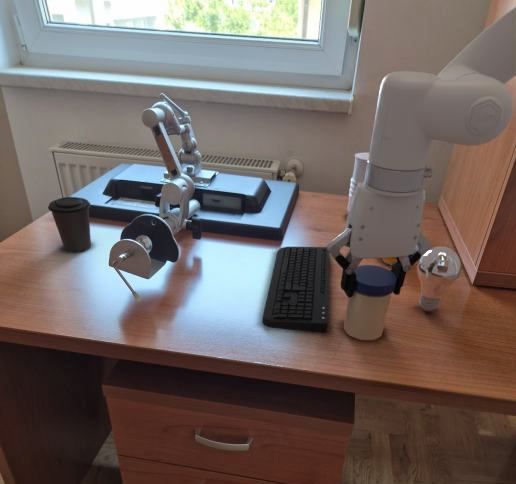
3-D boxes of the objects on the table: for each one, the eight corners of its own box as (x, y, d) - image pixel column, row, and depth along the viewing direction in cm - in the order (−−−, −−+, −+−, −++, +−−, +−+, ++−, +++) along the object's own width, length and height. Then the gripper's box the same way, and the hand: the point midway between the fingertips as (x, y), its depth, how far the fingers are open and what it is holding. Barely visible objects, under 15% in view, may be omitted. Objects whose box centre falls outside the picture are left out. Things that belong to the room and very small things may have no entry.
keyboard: (277, 250, 103) (278, 241, 101) (328, 255, 102) (329, 246, 100) (260, 326, 79) (261, 315, 78) (326, 332, 78) (328, 322, 77)
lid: (384, 273, 78) (386, 263, 76) (402, 295, 72) (404, 285, 71) (343, 275, 76) (344, 265, 75) (357, 297, 71) (359, 287, 70)
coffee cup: (49, 246, 100) (38, 199, 94) (83, 235, 105) (74, 190, 99) (71, 258, 96) (60, 210, 90) (105, 246, 101) (97, 200, 95)
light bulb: (414, 296, 89) (430, 235, 81) (451, 308, 85) (471, 246, 78) (400, 312, 84) (416, 249, 77) (439, 325, 81) (459, 261, 74)
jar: (390, 330, 79) (402, 280, 73) (366, 345, 75) (377, 293, 70) (359, 314, 83) (369, 265, 77) (335, 327, 79) (343, 277, 74)
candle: (375, 216, 121) (386, 154, 112) (370, 225, 116) (381, 161, 107) (348, 211, 123) (357, 151, 114) (342, 220, 118) (351, 158, 109)
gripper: (439, 168, 69) (411, 277, 79) (324, 169, 66) (310, 283, 76) (466, 184, 63) (432, 301, 73) (340, 187, 60) (323, 307, 71)
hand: (370, 290), depth 75 cm, fingers closed on lid, 7 cm apart
